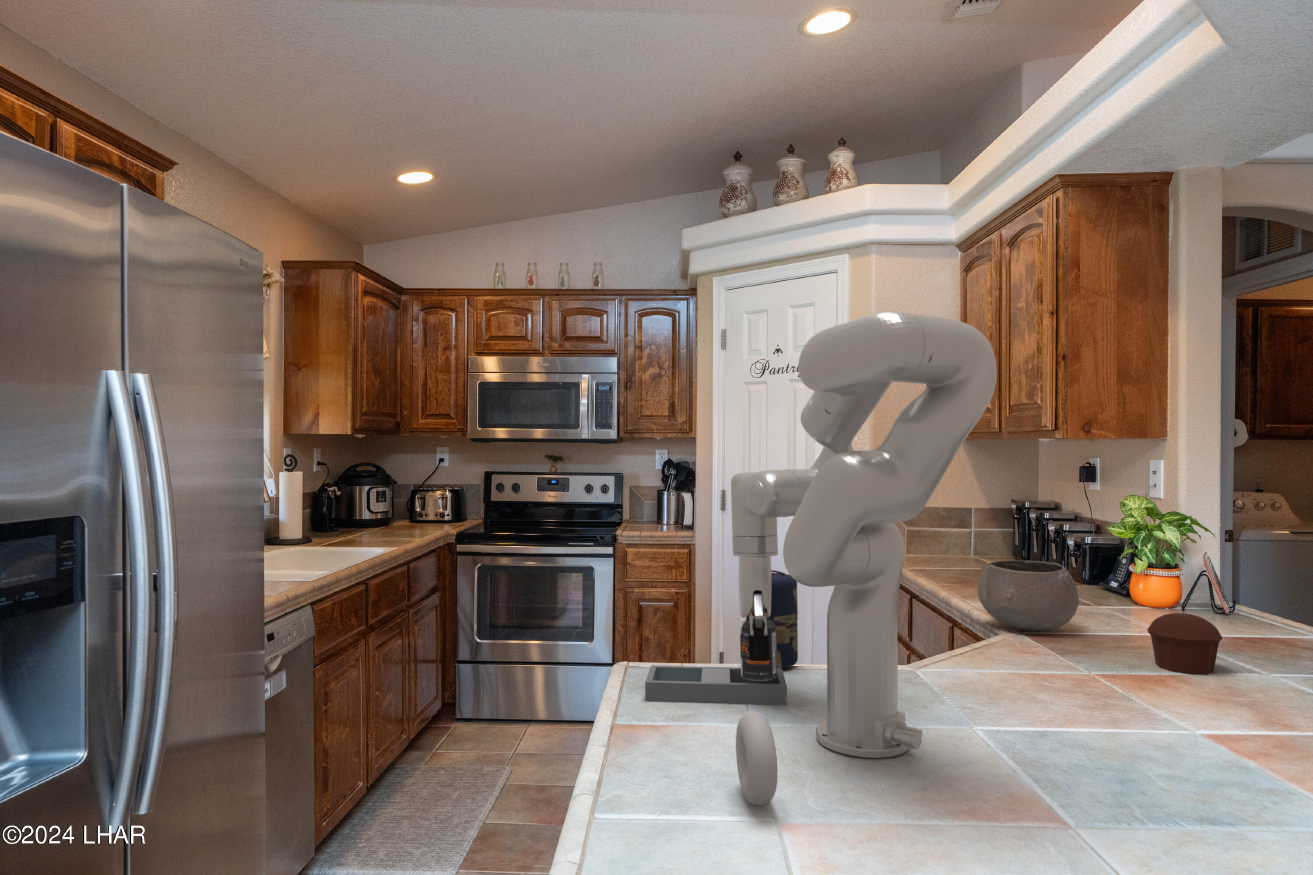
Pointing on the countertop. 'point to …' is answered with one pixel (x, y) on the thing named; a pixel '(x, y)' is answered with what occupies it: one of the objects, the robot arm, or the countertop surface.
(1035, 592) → the clay pot
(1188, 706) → the countertop surface
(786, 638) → the canister
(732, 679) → the frame
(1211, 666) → the muffin
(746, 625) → the pill bottle
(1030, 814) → the countertop surface
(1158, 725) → the countertop surface
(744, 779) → the donut
